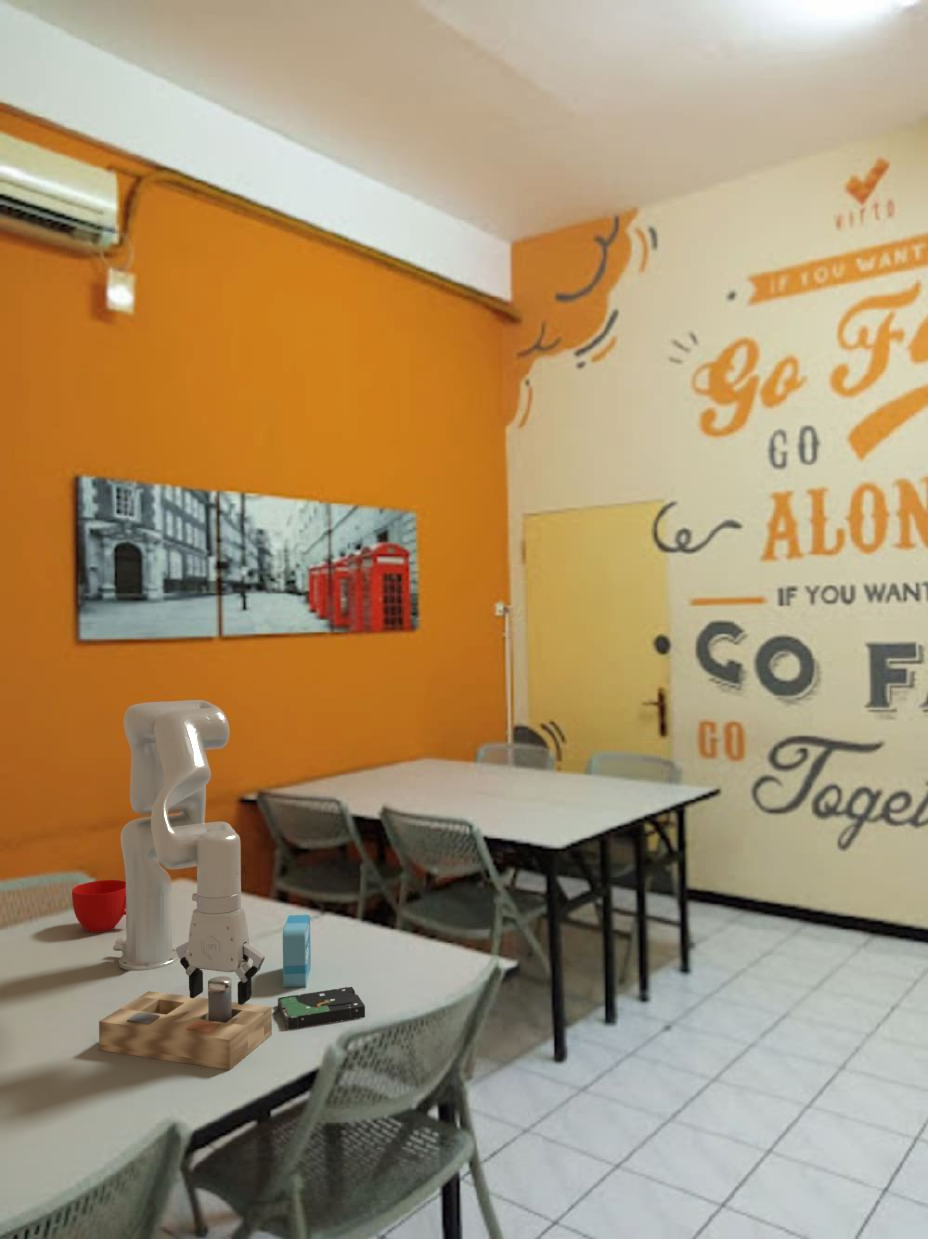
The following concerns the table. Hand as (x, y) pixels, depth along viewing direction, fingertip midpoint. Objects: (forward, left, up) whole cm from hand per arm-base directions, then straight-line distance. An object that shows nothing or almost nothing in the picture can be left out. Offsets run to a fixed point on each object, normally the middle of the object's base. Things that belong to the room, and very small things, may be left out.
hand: (220, 998), depth 169 cm
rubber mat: (-17, +14, -8) cm, 23 cm away
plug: (0, 0, -7) cm, 7 cm away
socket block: (-6, -2, -8) cm, 10 cm away
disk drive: (+11, +17, -9) cm, 22 cm away
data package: (-1, +30, -8) cm, 31 cm away
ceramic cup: (-61, +47, -8) cm, 78 cm away
